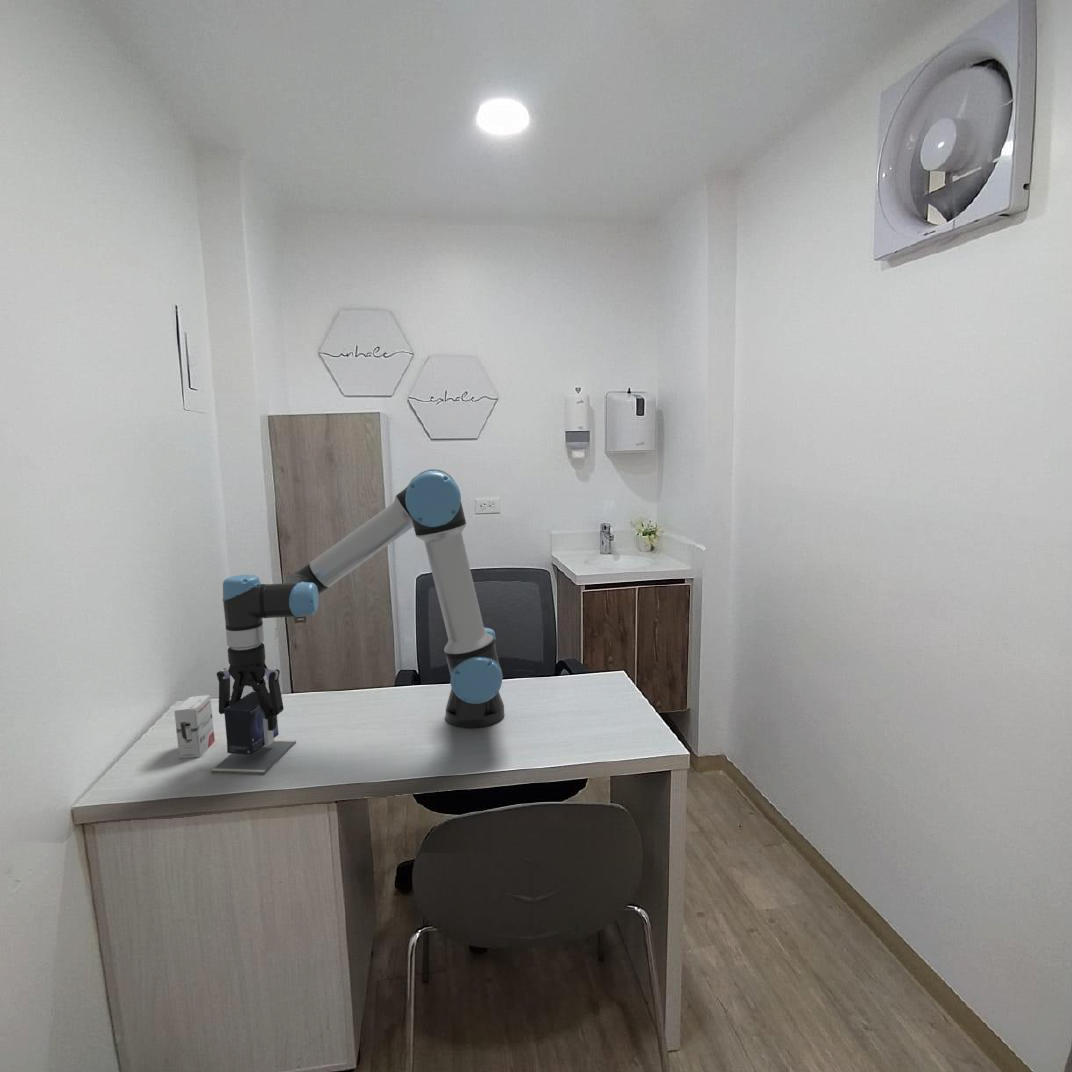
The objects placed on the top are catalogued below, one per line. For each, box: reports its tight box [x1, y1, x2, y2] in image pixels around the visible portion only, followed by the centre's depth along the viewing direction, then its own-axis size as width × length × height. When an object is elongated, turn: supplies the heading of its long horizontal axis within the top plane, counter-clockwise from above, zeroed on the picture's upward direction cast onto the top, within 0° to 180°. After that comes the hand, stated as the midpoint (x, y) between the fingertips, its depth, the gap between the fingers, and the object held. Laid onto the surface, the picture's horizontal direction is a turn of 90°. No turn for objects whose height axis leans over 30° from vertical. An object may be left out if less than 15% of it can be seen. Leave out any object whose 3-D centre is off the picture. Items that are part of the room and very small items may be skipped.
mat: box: [210, 739, 297, 776], centre depth 146 cm, size 12×15×1 cm
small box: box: [224, 691, 279, 755], centre depth 145 cm, size 11×6×10 cm, turn 169°
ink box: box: [173, 694, 216, 759], centre depth 150 cm, size 9×5×12 cm, turn 5°
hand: (254, 742), depth 146 cm, fingers closed on small box, 7 cm apart
